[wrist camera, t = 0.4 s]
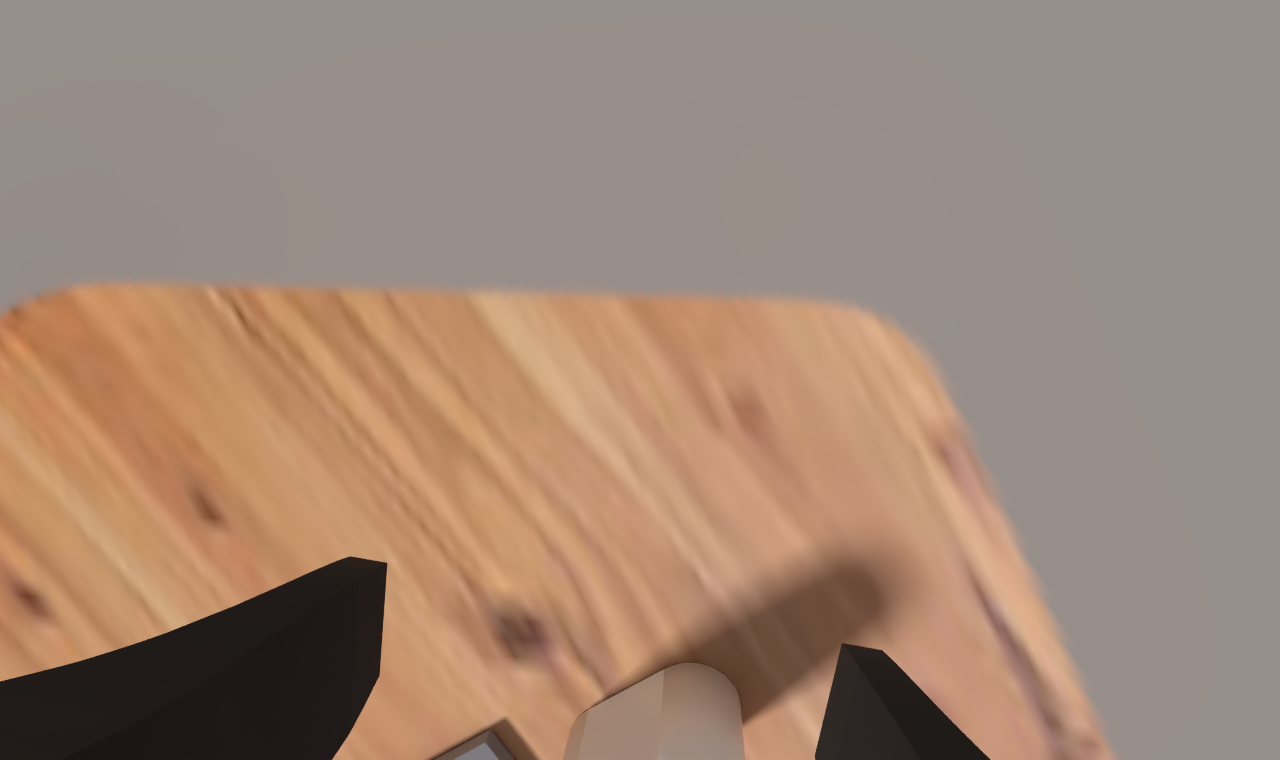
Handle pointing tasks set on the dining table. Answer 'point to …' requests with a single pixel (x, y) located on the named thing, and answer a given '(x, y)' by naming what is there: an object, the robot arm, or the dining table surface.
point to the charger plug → (664, 720)
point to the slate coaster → (479, 749)
